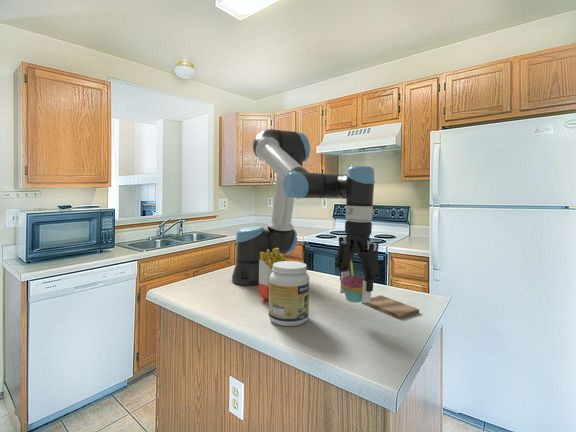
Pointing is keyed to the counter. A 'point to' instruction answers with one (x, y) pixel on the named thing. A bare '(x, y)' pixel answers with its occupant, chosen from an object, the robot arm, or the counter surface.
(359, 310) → the counter surface
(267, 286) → the french fries container
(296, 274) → the supplement tub
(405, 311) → the cutting board
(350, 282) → the cupcake
